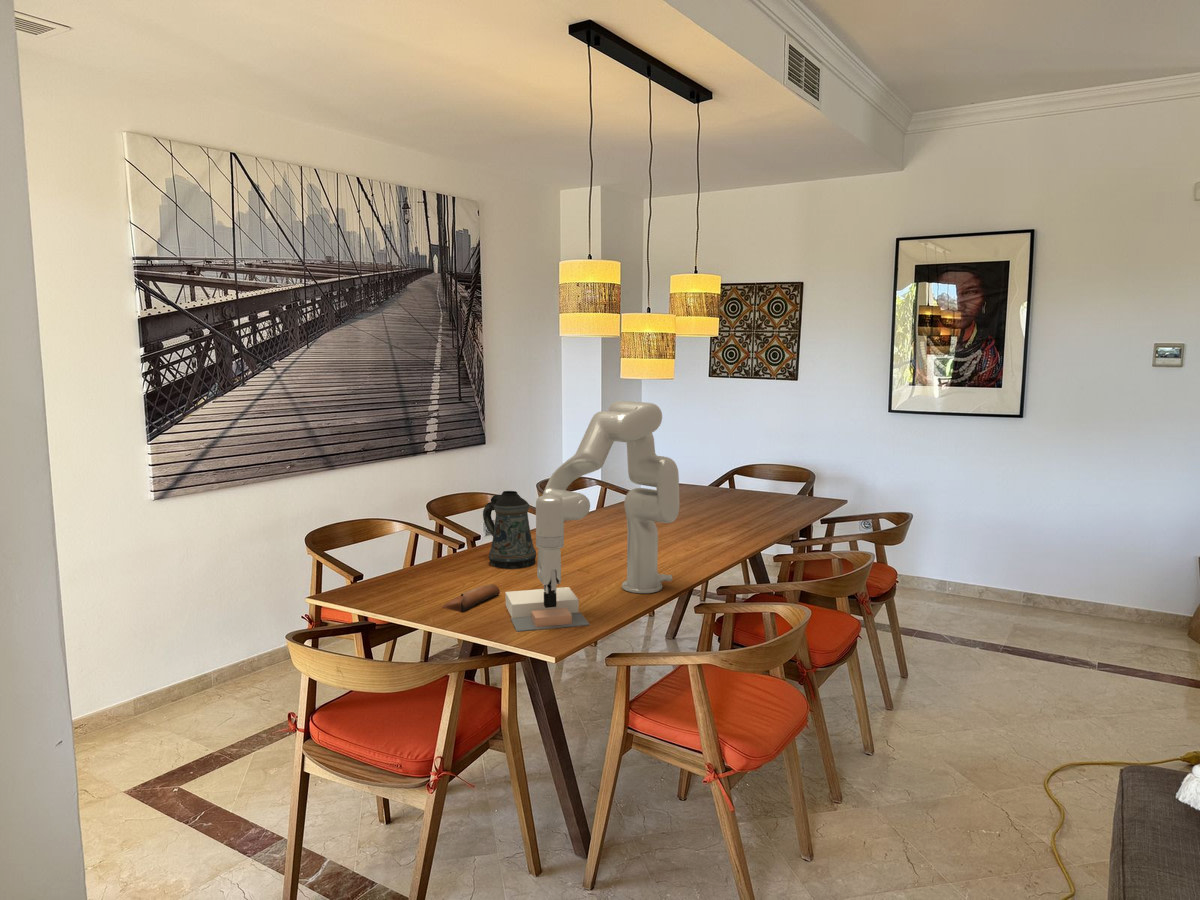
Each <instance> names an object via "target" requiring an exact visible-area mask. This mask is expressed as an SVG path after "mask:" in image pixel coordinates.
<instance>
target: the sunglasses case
mask: <svg viewBox="0 0 1200 900" xmlns="http://www.w3.org/2000/svg"><path fill="white" fill-rule="evenodd" d="M500 592H501V591H500V588H499V587H498V586H497V585H496V584H494V583H493V584H484V585H481V586H478V587H475V588H472V589H469V590H467V591H465V592H463V593H460V595H459V596H457V597H455V598H453V599H451V600H449V601H448V602H447V603H445V604H444V605H443V606H442V608H443V609H446V610H451V611H454V612H455V611H456V612H460V613H463V612H465V611H467V610H469V609H470V608H472V607H474V606H476V605H477V604H480V603H481V602H482V603H483V602H484V601H486V600H488V599H491V598H492V597H495V596H499V595H500Z"/></svg>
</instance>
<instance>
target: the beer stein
mask: <svg viewBox="0 0 1200 900" xmlns="http://www.w3.org/2000/svg"><path fill="white" fill-rule="evenodd" d="M529 510H530V503H529V502H528V501H527V500H526V499H525V498H523V497H521V496H520V494H518V491H515V490H503V491H502V493H501V494H495V495H493V496H492V497H491V499H490V501H489V502H487V503H486V504H485V505H484V508H483V511H482V517H483V522H484V525H485V527H486V529H487V530H488V532H489V533H490V535H491V536H492V541H491V547H490V549H489V553H488V559H489V564H490V565H491V566H492V567H493V568H496V569H504V570H517V569H518V570H520V569H526V568H530V567H533V566H534V565H535V564H536V558H537V552H536V549H535V546H534V543H533V539H532V534H531V528H530V523H529V515H528V513H529ZM492 511H494V512H495V519H494V521H493V519H492V518H493V517H492Z"/></svg>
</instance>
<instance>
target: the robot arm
mask: <svg viewBox="0 0 1200 900" xmlns="http://www.w3.org/2000/svg"><path fill="white" fill-rule="evenodd" d="M662 420H663V414H662V410H661V408H660V407H659V406H658V405H657V404H655V403H653V402H645V401H644V402H643V401H642V402H641V401H630V400H620V401H615V402H613V403H611V404H610V405H609V407H608V410H603V411H602V410H601V411H598V412H596V413H594V414H593V415H592V418H591V419H590V422H589V423H588V425H587V428H586V430H585V432H584V435H583V437H582V439H581V440H580V443H579V445H578V447H577V449H576V452H575V453H574V454H573V455H572V456H571V457H570V458H568V459H567V460H566V461H564V462H563V463H562V464H561V465H560V466H559V467H557V468H556V469H555V470H554V472H553V473H552V475H550V477H549V479H548V481H547V483H546V486H545V488H544V490H543V493H542V495H540V496H538V497H537V498H536V501H535V547H536V548H537V563H536V564H537V565H536V566H537V570H536V572H537V574H536V576H537V578H538V580H539V582H540V583H541V584H542V585H543V589H544V606H545V608H550V607H556V588H557V585H560V584H561V583H562V582H561V581H562V560H561V559H562V558H561V557H562V555H561V549H562V548H564V547H565V544H564V543H565V541H564V540H565V530H564V529H565V521H577V520H578V521H579V520H581V519H583V518H585V517H586V516H587V515H588V514H589V512H590V510H591V502H590V499H589V498H588V497H587V495H585V494H584V493H580V492H577V491H576V492H575V491H570V490H567V489H568V487H569V486H570V485H571V484H572V483H573V482H574V481H575V480H577V479H579V478H581V477H582V476H585V475H588V474H591V473H594V472H596V471H599V470H600V469H602V468H603V467H604V464H605V462H606V459H607V458H608V456H609V453H610V452H611V451H610V450H611V448H612V447H613V444H614V442H617V443H620V442H621V443H626V453H627V454H626V457H627V472H628V473H627V474H628V478H629V481H630V482H632V483H633V484H635V485H640V486H646V487H652V488H656V489H652V488H644V487H635V488H633V489H630V490H629V491H628V492H627V493H626V494H625V497H624V501H623V503H624V505H623V506H624V512H625V516H626V527H627V531H626V532H627V537H626V538H627V543H626V544H627V549H626V552H627V553H626V555H627V557H626V580H624V581H623V582H622V583H621V588H622V589H623V590H624V591H625V592H626V591H627V592H629V593H634V594H652V593H653V594H654V593H657V592H660V591H661V590H662V589H663V584H662V583H663V582H672V581H673V576H672V574H667V575H666V574H665V573H661V574H660V573H659V572H658V563H659V562H658V553H659V551H658V549H659V547H658V546H659V545H658V544H659V541H658V540H659V532H658V531H659V530H658V528H657V524H656V523H661V524H670V523H673V522H675V521H676V520H677V518H678V516H679V512H680V478H679V476H680V474H679V469H678V466H677V463H676V461H674V460H673V459H672V458H670V457H668V456H661V455H657V454H656V449H655V448H656V447H655V438H654V435H653V433H654V432H656V431H657V430H658V428H659V427H660V426H661V424H662ZM545 591H546V592H545Z"/></svg>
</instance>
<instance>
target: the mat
mask: <svg viewBox="0 0 1200 900" xmlns="http://www.w3.org/2000/svg"><path fill="white" fill-rule="evenodd" d="M571 615H572V624H564V625H553V626H542V627H535V625H534V623H533V622H532V620H531V617H520V618H512V617H511V618H510V621H511V623H512V624H513V626H514V628H515V631H516V632H518V633H519V632H520V633H521V632H529V631H538V630H539V631H541V630H542V631H543V630H550V629H551V630H553V629H562V628H572V627H573V628H574V627H584V626H587V627H588V626H591V625H590V623H589V620H587V618H586V617H585V616H584V615H583V614H582V612H579V611H578V613H571Z"/></svg>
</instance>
